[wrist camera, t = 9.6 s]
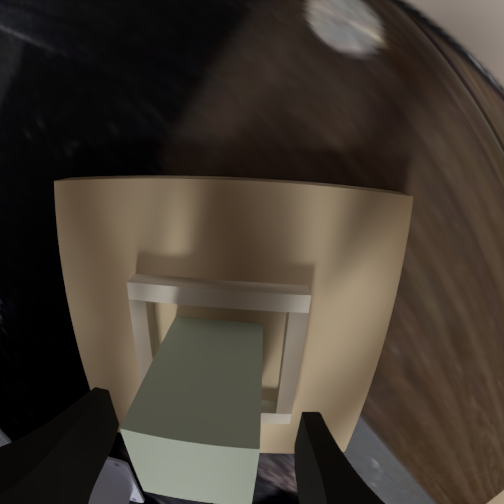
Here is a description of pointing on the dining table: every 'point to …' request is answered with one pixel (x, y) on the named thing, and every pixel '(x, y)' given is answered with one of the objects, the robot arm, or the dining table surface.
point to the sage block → (200, 413)
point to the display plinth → (236, 282)
